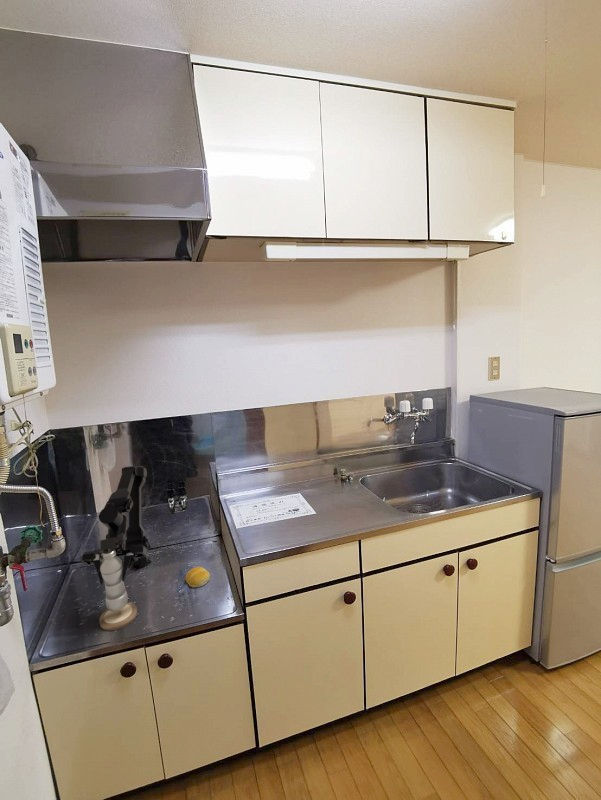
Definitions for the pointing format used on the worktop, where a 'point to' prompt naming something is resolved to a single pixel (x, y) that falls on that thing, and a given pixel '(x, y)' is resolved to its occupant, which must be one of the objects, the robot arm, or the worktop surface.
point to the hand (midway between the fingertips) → (112, 583)
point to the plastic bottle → (113, 581)
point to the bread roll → (197, 577)
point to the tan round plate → (118, 617)
